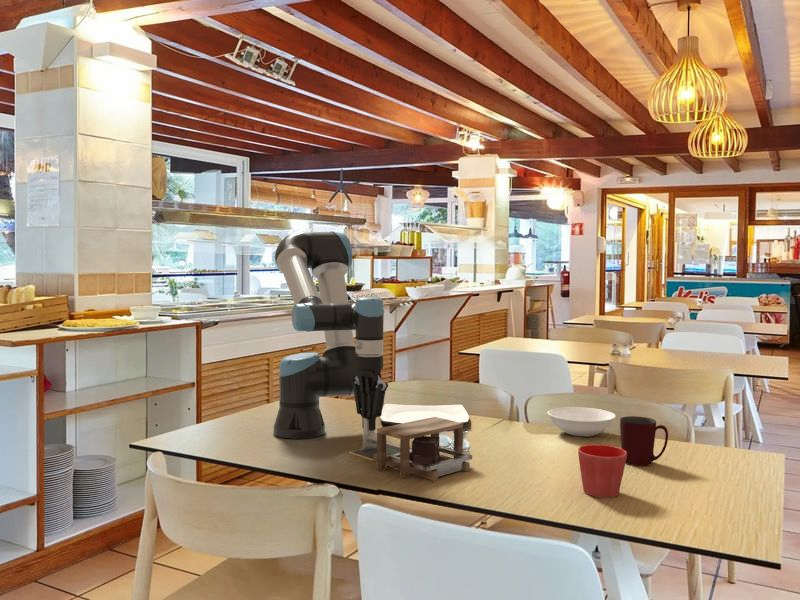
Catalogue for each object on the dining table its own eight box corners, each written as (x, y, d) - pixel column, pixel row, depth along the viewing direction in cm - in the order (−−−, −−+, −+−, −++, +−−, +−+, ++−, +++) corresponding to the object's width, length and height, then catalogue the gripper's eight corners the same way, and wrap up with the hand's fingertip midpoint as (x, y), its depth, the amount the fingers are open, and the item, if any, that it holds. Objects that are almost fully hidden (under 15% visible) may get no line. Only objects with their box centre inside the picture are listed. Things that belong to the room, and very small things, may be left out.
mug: (671, 463, 195) (672, 420, 194) (661, 471, 188) (663, 427, 187) (625, 455, 202) (626, 414, 201) (614, 463, 194) (615, 420, 194)
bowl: (591, 425, 237) (591, 405, 237) (629, 440, 218) (630, 418, 218) (534, 429, 231) (535, 408, 231) (569, 445, 212) (569, 422, 212)
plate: (472, 431, 229) (472, 422, 229) (377, 430, 229) (377, 421, 229) (465, 411, 257) (465, 403, 257) (381, 410, 258) (381, 402, 258)
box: (435, 472, 185) (435, 442, 185) (411, 470, 187) (411, 440, 186) (439, 465, 191) (440, 436, 191) (416, 463, 193) (416, 435, 192)
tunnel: (361, 464, 192) (361, 424, 191) (418, 450, 205) (419, 413, 205) (422, 484, 175) (422, 440, 175) (480, 467, 189) (480, 427, 189)
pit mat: (348, 452, 202) (348, 451, 202) (381, 445, 210) (381, 444, 210) (372, 460, 195) (372, 459, 195) (406, 452, 203) (406, 451, 203)
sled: (348, 454, 199) (348, 437, 199) (393, 444, 210) (393, 428, 209) (426, 479, 178) (426, 460, 177) (471, 467, 188) (472, 448, 188)
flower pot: (636, 494, 169) (637, 452, 169) (602, 503, 163) (603, 459, 163) (600, 482, 178) (601, 441, 177) (566, 490, 172) (567, 448, 172)
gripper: (343, 353, 205) (343, 439, 207) (374, 358, 196) (374, 448, 197) (364, 351, 211) (364, 435, 212) (395, 356, 201) (395, 443, 202)
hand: (368, 441), depth 205 cm, fingers closed
